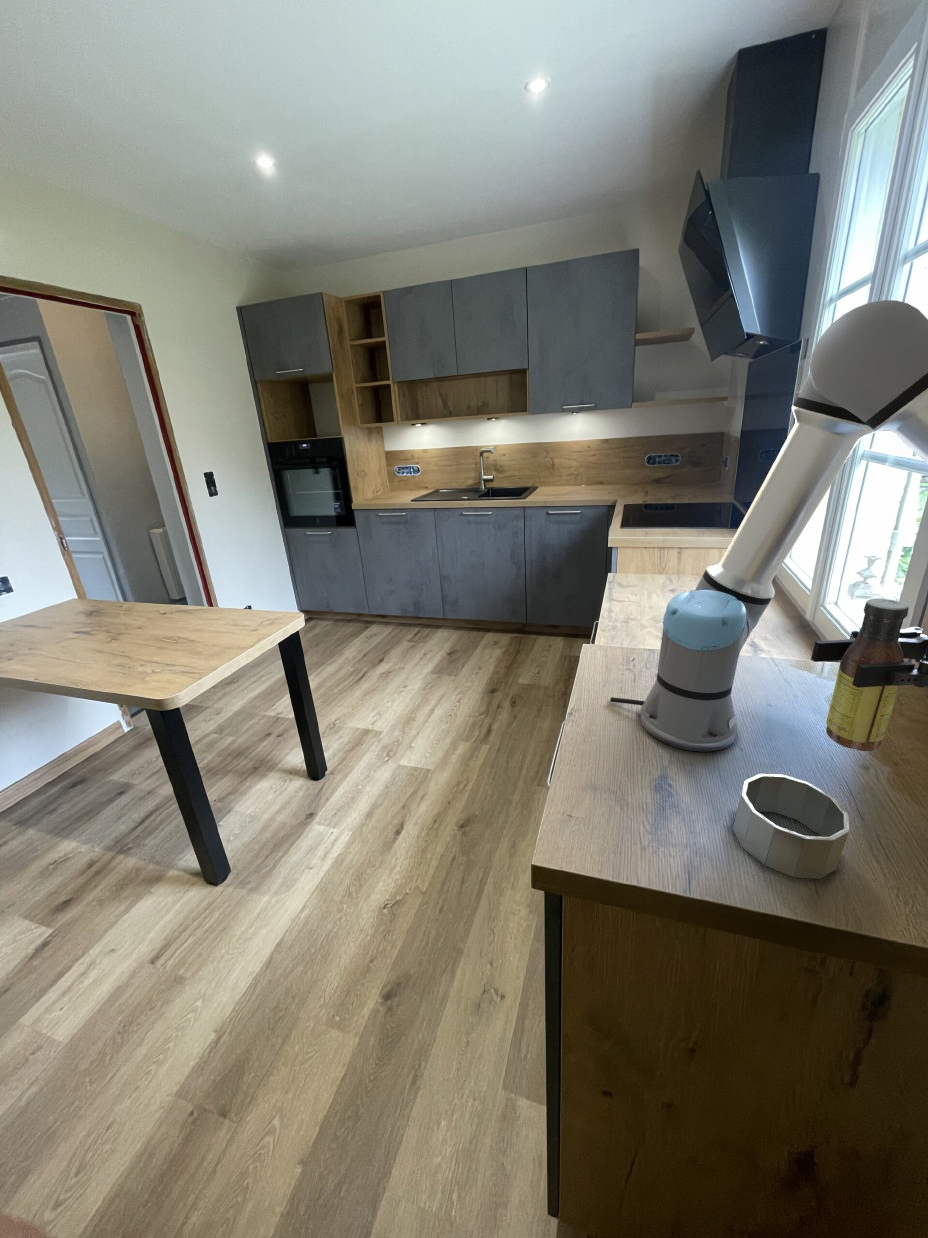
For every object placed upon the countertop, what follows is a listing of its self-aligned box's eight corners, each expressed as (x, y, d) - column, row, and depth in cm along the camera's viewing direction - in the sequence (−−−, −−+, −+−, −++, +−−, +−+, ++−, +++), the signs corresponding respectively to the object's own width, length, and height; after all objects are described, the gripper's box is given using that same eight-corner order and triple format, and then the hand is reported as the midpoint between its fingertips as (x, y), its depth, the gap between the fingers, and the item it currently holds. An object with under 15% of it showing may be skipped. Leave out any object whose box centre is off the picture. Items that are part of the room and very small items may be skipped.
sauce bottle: (865, 728, 68) (908, 595, 61) (890, 756, 62) (941, 613, 55) (812, 724, 70) (848, 593, 62) (832, 751, 64) (874, 610, 57)
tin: (727, 850, 61) (736, 813, 58) (740, 798, 69) (748, 763, 67) (836, 895, 55) (850, 855, 52) (836, 831, 63) (848, 795, 61)
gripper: (1088, 718, 55) (893, 732, 54) (927, 647, 73) (778, 656, 72) (1119, 659, 52) (914, 672, 51) (943, 600, 70) (789, 609, 69)
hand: (835, 663), depth 61 cm, fingers closed on sauce bottle, 6 cm apart
